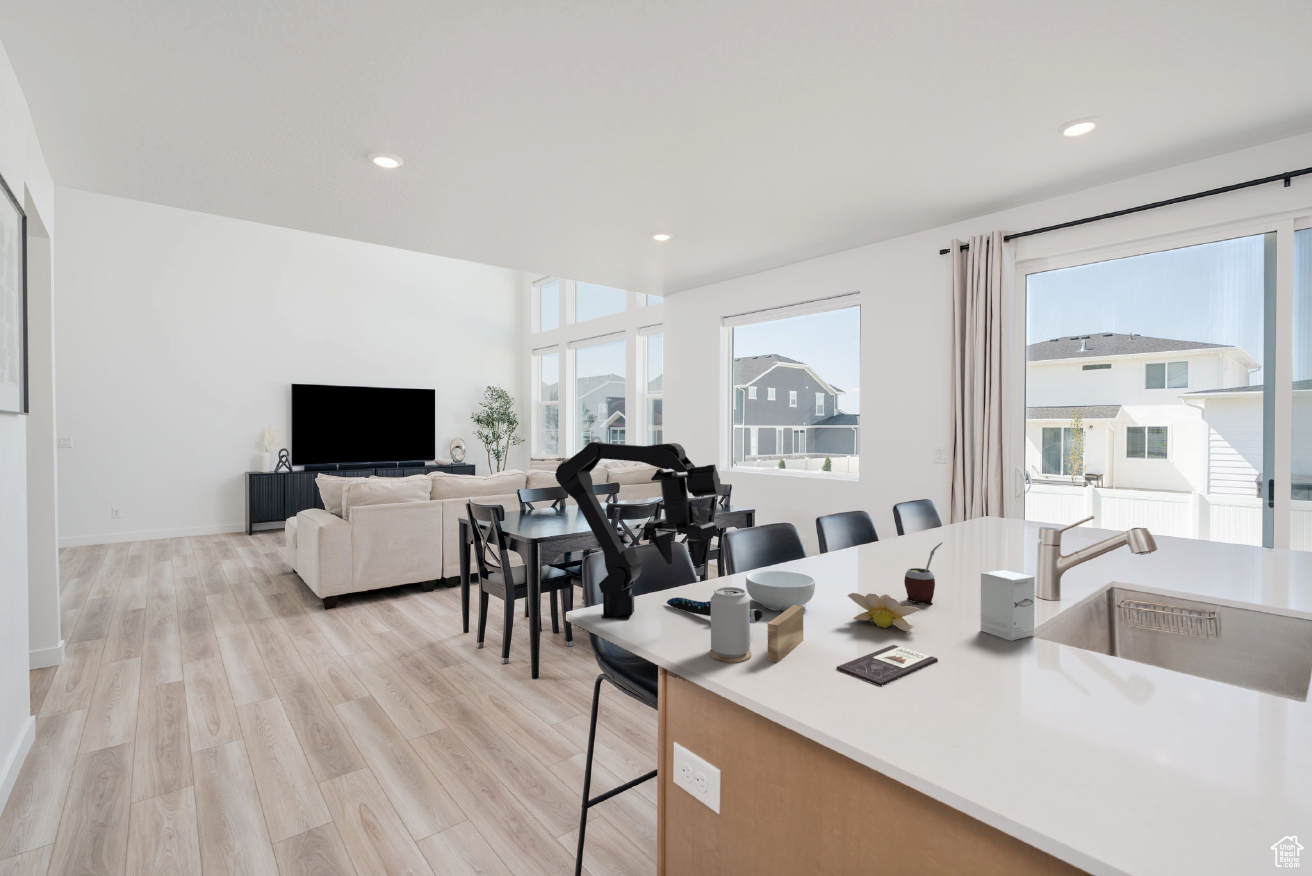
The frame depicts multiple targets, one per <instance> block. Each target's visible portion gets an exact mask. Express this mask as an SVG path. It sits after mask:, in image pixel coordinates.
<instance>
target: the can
mask: <svg viewBox="0 0 1312 876" xmlns="http://www.w3.org/2000/svg"><path fill="white" fill-rule="evenodd" d="M710 601H711V616H710V649H711V648H712V650H713V651H715V653H716V654H718V655H720V656H723V657H730V658H734V657H741V656H743V655H745V654H746V652H748V651H749V650H750V649H751V632H750V630H751V628H750V627H751V623H750V609H751V608H750V604H751V603H750V602H751V599H750V597H748V596H747V590H746V589H744V588H740V587H735V586H722V587H717V588H715V589H714V590H713V595H712V596H711V597H710ZM750 651H751V650H750Z"/></svg>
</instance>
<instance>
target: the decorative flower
mask: <svg viewBox="0 0 1312 876" xmlns="http://www.w3.org/2000/svg"><path fill="white" fill-rule="evenodd" d="M847 597H848V598H849V599H851V601H853V603H855V604H857V606H860V607H861V608H863V609H865V610H867V611H865V612H861V613H859V614H857V615H856V616H854V617H853V618H852V619H854V620H860V621H865V622H872V621H874V624H876V625H877V626H878V627H880V628H882V629H883V628H885V629H887V628H889V627H890V626H892V625H893V624H894V626H896V627H897V628H898V629H900V630H901V631H905V632H908V631H911V630H912V629H913V627H912V626H911V625H910V624H909V623H908V622H907V620H905V619H904V618H903V617H906V616H910V615H913V614H914V613H916V612H919V611H922V609H921V608H919V607H915V606H912V605H911V606H910V605H909V606H908V605H907V606H906V605H905V606H903V605H902V606H901V604H900V602H899V601H898V600H897V599H894V597H893V598H892V597H891V596H890V595H888V594H882V595H880V596H879V595H877V594H876V593H868V594H866V595H865V596H864V595H862V594H860V593H858V592H857V593H855V592H852V593H848V594H847Z"/></svg>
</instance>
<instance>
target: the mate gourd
mask: <svg viewBox="0 0 1312 876" xmlns="http://www.w3.org/2000/svg"><path fill="white" fill-rule="evenodd" d="M942 544H943V542H940V543H938V544H937V545H936V546H935V547H934V548H932V550H930V552H929V558H928V562H927V564H926V567H925V568H922V567H921V568H920V567H919V568H918V567H914V568H912V567H911V568H909V569H908V570H907V571H906V572H905V576H904V587H905V588H904V589H905V590H906V595H907V597H906V600H907V601H909V602H912V605H914V606H917V605H919V603H920V604H922V605H923V604H924V605H927V606H928V605H930V606H932V605H933V603H934V602H933V598H934V594H935V587H936V581H935V580H936V579H935V575H934V573H933V572H932V571H931V570H929V568H930V564H931V562H932V559H933V556H934V555H935V551H936V550H937V549H938V548H939V547H940V546H941V545H942ZM913 601H914V602H913Z"/></svg>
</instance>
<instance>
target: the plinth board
mask: <svg viewBox="0 0 1312 876" xmlns="http://www.w3.org/2000/svg"><path fill="white" fill-rule="evenodd" d="M803 641H804V605H800V606H797V605H793V606H792V607H790V608H789V609H787V610H786V611H783V612H782V613H781V614H779V615H778V616H776V617H774V618H773V619H772V620H771V621H769V622H767V661H768V662H773V663H777V664H778V663H779V662H781V661H782V660H783V659H784V658H785V657H786V656H788V654H789V653H791V652H792V651H793V650H795V649H796V648H797V647H798V646H799V645H800V644H801V643H802V642H803ZM800 642H801V643H800ZM798 644H799V645H798ZM797 645H798V646H797Z"/></svg>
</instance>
